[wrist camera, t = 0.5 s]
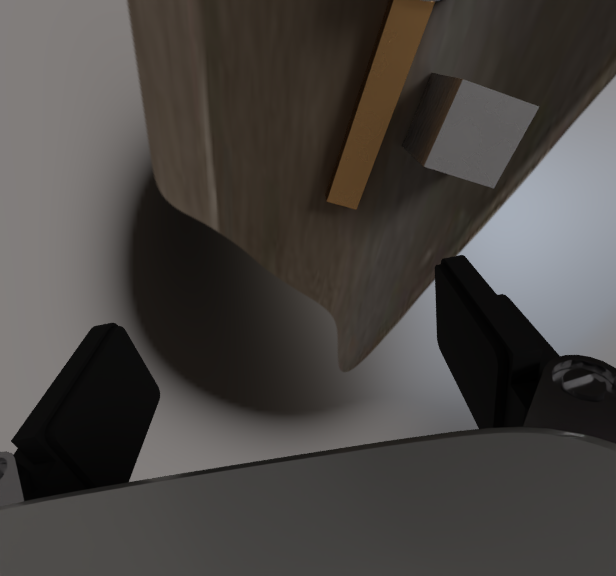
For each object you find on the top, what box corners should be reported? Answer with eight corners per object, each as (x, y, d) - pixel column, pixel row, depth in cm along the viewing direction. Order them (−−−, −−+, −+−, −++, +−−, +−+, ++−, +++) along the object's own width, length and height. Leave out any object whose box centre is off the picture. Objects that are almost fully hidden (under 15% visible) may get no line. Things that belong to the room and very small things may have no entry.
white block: (432, 72, 33) (463, 79, 27) (495, 95, 34) (539, 106, 28) (401, 146, 36) (423, 166, 30) (461, 164, 37) (493, 188, 31)
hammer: (404, -167, 25) (435, -226, 20) (509, -117, 27) (566, -158, 21) (300, 188, 38) (302, 213, 32) (376, 209, 39) (391, 236, 33)
